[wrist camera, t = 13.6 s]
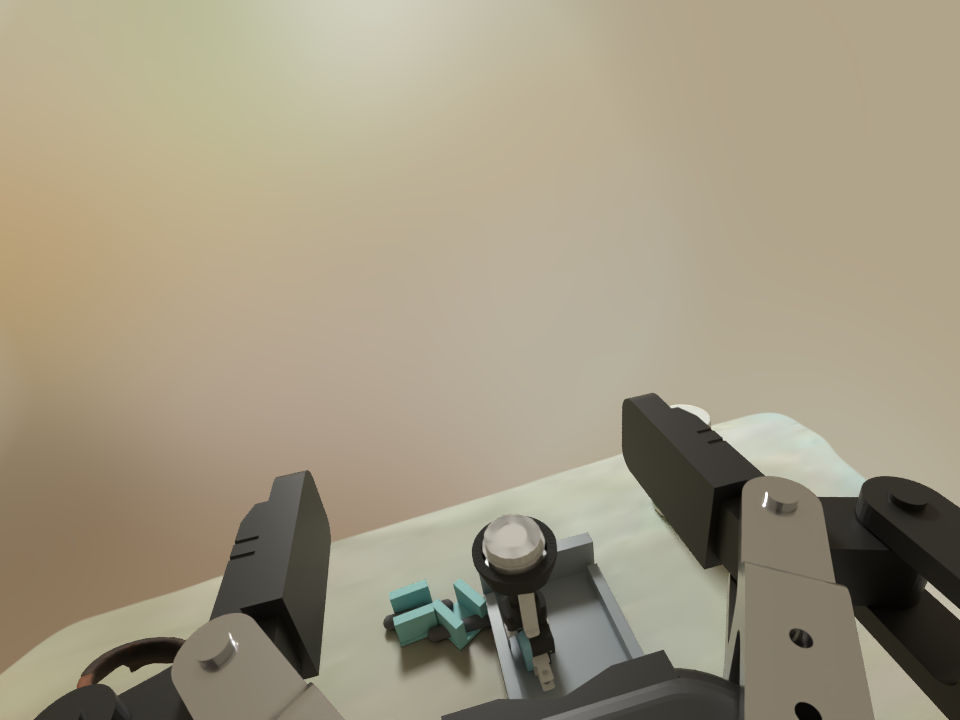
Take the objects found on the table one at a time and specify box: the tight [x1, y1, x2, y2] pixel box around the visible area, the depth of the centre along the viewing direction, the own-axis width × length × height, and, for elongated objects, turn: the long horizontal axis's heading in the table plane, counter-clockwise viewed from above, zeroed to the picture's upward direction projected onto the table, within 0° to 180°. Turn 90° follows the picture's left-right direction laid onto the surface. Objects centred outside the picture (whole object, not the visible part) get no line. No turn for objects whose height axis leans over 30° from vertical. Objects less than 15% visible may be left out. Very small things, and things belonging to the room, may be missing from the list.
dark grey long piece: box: [383, 599, 491, 642], centre depth 37 cm, size 10×3×1 cm, turn 101°
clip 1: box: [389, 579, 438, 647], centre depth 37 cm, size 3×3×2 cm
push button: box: [472, 514, 557, 691], centre depth 32 cm, size 7×5×10 cm
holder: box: [479, 532, 645, 699], centre depth 34 cm, size 9×10×4 cm
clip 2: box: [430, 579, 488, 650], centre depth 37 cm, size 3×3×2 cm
